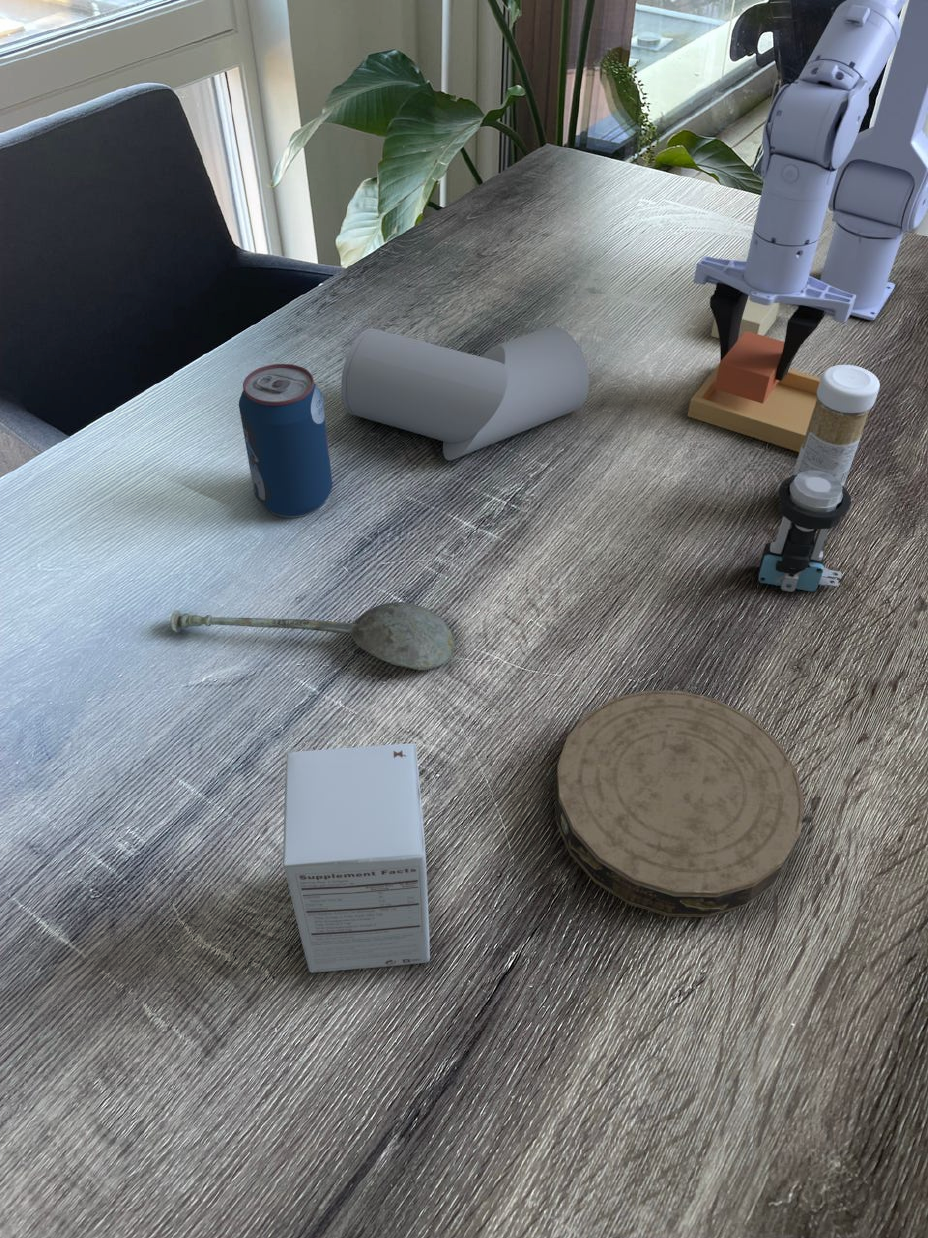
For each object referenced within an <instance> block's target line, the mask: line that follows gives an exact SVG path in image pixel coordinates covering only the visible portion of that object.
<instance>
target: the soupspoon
mask: <svg viewBox="0 0 928 1238" xmlns="http://www.w3.org/2000/svg"><path fill="white" fill-rule="evenodd" d="M202 625H205V626H206V627H211V626H212V625H213V626H216V625H217V626H235V627H253V628H272V629H273V628H276V629H296V630H307V631H319V632H329V633H337V634H346V635H350V637H351V638H352V639H353V641H354V643H355V644H356V645H357V646H358V647H359V648H360V649H362V650H363V651H365V652H366V653H368V654H369V655H372V656H373V657H374V658H376V659H379V660H380V661H383V662H386V663H387V664H391V665H393V666H399V667H402V668H406V669H407V668H409V669H412V670H417V671H427V670H431V669H435V668H439V667H440V666H443V665H445V664H446V663H447V662H449V660H450V659H451V658H452V656H453V655H454V652H455V644H456V643H455V640H454V639H455V637H454V636H453V633H452V630H451V628H450V627H449V626H448V624H447V623H446V622H445V621H444V620H443V619H442V618H441V617H440V616H439V615H438V614H437V613H435V612H434V611H432V610H430V609H428V608H426V607H424V606H421V605H419V604H416V603H411V602H404V601H394V602H393V601H392V602H386V603H382V604H379V605H376V606H373V607H372V608H370V609H368V610H367V611H365V612H363V613H362V614H361V615H360V616H359V617H358V618H356V619H355V621H354V622H341V621H331V620H319V619H318V620H317V619H299V618H265V617H264V618H261V617H260V618H259V617H258V618H257V617H227V616H225V617H223V616H221V617H217V616H216V617H213V616H212V615H211V614H207V615H205V616H202V615H199V614H195V615H194V614H188V613H183V614H182V612H181V611H180V610H178V609H175V610H174V611H173V612H172V614H171V617H170V627H171V629H172V631H174V633H181V631H182V630H183V629H188V628H189V627H200V626H202Z"/></svg>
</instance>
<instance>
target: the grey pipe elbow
mask: <svg viewBox="0 0 928 1238" xmlns="http://www.w3.org/2000/svg"><path fill="white" fill-rule="evenodd" d="M589 389H590V376H589V369H588V365H587V362H586V359H585V356H584V354H583V352H582V350H581V348H580V346H579V344H578V343H577V341H576V339H574V336H572V335H571V333H569V332H568V331H567V330H565V329H564V328H563V327H560V326H556V325H550V326H546V327H544V328H541V329H537V330H535V331H532V332H529V333H527V334H523V335H521V336H519V337H515V338H513V339H510V340H507V341H504V342H501V343H498V344H496V345H494V346H492V347H490V348H489V349H488V350H487V351H486V352H484V354H483V355H482V356H479V355H476V354H472V353H468V352H464V351H460V350H457V349H452V348H448V347H445V346H441V345H437V344H434V343H430V342H426V341H422V340H418V339H415V338H410V337H406V336H403V335H399V334H395V333H391V332H388V331H383V330H380V329H378V328H377V329H376V328H367V329H365V330H363V331H361V333H359V335H357V337H356V338H355V340H354V341H353V342H352V344H351V346H350V348H349V350H348V352H347V355H346V357H345V361H344V364H343V369H342V374H341V384H340V391H341V399H342V404H343V406H344V409H345V410H346V411H347V413H348V414H350V415H353V416H357V417H359V418H362V419H365V420H369V421H373V422H377V423H380V424H383V425H387V426H389V427H394V428H397V429H400V430H404V431H407V432H410V433H414V434H417V435H421V436H425V437H427V438H431V439H434V440H437V441H441V442H442V453H443V457H444V459H445V460H447V461H453V460H456V459H458V458H461V457H463V456H466V455H469V454H471V453H473V452H476V451H479V450H481V449H483V448H486V447H488V446H491V445H494V444H496V443H499V442H500V441H503V440H506V439H508V438H511V437H513V436H516V435H518V434H521V433H523V432H525V431H528V430H530V429H533V428H536V427H538V426H540V425H543V424H545V423H547V422H550V421H552V420H553V421H554V420H555V419H559V418H560V417H563V416H565V415H568V414H570V413H573V412H575V411H577V410H579V409H581V407H583V406H584V404H585V402H586V400H587V397H588V395H589V394H588V393H589Z"/></svg>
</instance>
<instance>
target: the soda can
mask: <svg viewBox="0 0 928 1238" xmlns="http://www.w3.org/2000/svg"><path fill="white" fill-rule="evenodd" d="M238 409H239V415H240V421H241V425H242V432H243V439H244V443H245V449H246V454H247V460H248V465H249V466H248V467H249V471H250V476H251V477H250V478H251V483H252V488H253V494H254V496H255V498H256V499H257V501H258V502H259V503H260V504H261V505H262V506H263V507H264V508H265V509H266V510H267V511H268V512H270V513H272V514H273V515H274V516H278V517H282V518H291V519H292V518H293V519H295V518H301V517H302V518H303V517H306V516H308V515H311V514H313V513H315V512H317V511H318V510H320V509H321V508H322V506H323V505H324V504H325V502H326V501H327V500H328V497H329V496H330V494H331V492H332V489H333V478H332V469H331V468H332V467H331V459H330V450H329V441H328V432H327V424H326V423H327V421H326V413H325V404H324V396H323V393H322V391H321V389H320V388H319V387H318V385H317V384H316V383H315V380H314V377H313V375H312V373H311V372H310V371H309V370H308V369H306V368H305V367H303V366H300V365H296V364H289V363H275V364H268V365H264V366H262V367H258V368H257V369H255V370H253V371H252V372H250V373H249V374H248V375H247V376H246V377H245V379H243V382H242V392H241V395H240V397H239V401H238Z"/></svg>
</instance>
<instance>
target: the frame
mask: <svg viewBox="0 0 928 1238" xmlns="http://www.w3.org/2000/svg"><path fill="white" fill-rule="evenodd" d="M719 364H720V362H719V363H718V364H717V366H716V367H715V368H714V370H713V371H712V372H711V373H710V375H709V376H708V377H707V379H706V380H705V381H704V382H703V383H702V384H701V386H700V387H699V388H698V390H697V391H696V392H695V394H694V395H693V396H692V397H691V399H690V401H689V406H688V412H687V417H689V418H691V419H695V420H698V421H700V422H704V423H707V424H710V425H713V426H717V427H719V428H721V429H722V428H723V429H726V430H729V431H732V432H735V433H738V434H741V435H745V436H747V437H751V438H754V439H757V440H760V441H763V442H766V443H769V444H772V445H775V446H778V447H782V448H784V449H788V450H791V451H793V452H797V453H799V452H800V449H801V446H802V444H803V442H804V438H805V435H806V432H807V428H808V426H809V422H810V419H811V416H812V413H813V410H814V407H815V403H816V400H817V399H816V398H817V389H818V386H819V382H820V379H821V377H819V376H815V375H812V374H810V373H805V372H802V371H798V370H795V369H792V368H789V370H788V372H787V374H786V375H785V377H784V378H783V380H782V381H779V382H778V383H777V384H776V386H775V387H774V389H773V390H772V391H771V393H770V394H769V396H768V397H767V399H766V400H765V401H764V403H759V402H756V401H753V400H749V399H746V398H743V397H740V396H736V395H733V394H730V393H727V392H723V391H720V390H717V389H714V387H715V383H716V378H717V373H718V369H719Z"/></svg>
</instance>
